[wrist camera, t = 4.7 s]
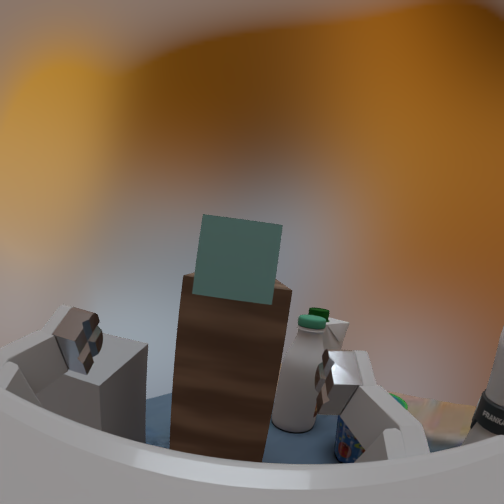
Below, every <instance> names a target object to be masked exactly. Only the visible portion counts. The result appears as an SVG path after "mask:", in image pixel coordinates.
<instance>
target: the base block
mask: <svg viewBox="0 0 504 504" xmlns="http://www.w3.org/2000/svg"><path fill="white" fill-rule="evenodd" d="M147 356H148V343H143V342H139V341H134V340H130V339H125V338H121V337H117V336H113V335H109V334H104V333H103V344H102V348H101V350H100V352H99V354H98V355H96V356H94V357H93V361H94V363H93V365H92V367H91V369H90V371H89V373H88V375H84V374H81V373H77V372H74V371H71V370H68V372H66V373H65V374H64V375H62V376H61V377H59V378H58V379H57V380H55V381H54V382H52V383H51V384H50V385H48V386H47V387H45V388H44V389H43V390H41V391H40V392H38V393H37V394H36V397H37V398H38V400H39V402H40V403H41V406H42V408H44V409H46V410H48V411H51V412H53V413H55V414H58V415H60V416H63V417H65V418H68V419H70V420H73V421H75V422H78V423H81V424H83V425H86V426H89V427H92V428H95V429H98V430H101V431H104V432H107V433H110V434H113V435H116V436H120V437H123V438H127V439H130V440H134V441H137V442H141V443H145V444H146V442H145V412H146V376H147Z"/></svg>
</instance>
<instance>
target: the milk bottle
mask: <svg viewBox="0 0 504 504" xmlns="http://www.w3.org/2000/svg"><path fill="white" fill-rule="evenodd" d="M325 327H326V319H325V318H323V317H320V316H315V315H300V316H299V319H298V327H297V328H298V333H297V336H296V338H295V340H294V342H293V344H292V345H291V346H290V348H289V349H288V351H287V352H286V354H285V357H284V359H283V362H282V366H281V371H280V376H279V381H278V386H277V392H276V397H275V402H274V408H273V413H272V421H273V423H274V425H275V426H277V427H278V428H280V429H282V430H285V431H289V432H305V431H308V430H310V429H311V428H312V427H313V425H314V423H315V419H316V415H317V403H316V398H317V396H318V394H319V393H318V392H317V391H316V390H315V374H316V370H317V367H318V364H320V363H322V362H323V361H322V355H323V352H324V347H323V339H322V336H323V332H325Z"/></svg>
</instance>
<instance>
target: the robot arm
mask: <svg viewBox="0 0 504 504" xmlns="http://www.w3.org/2000/svg"><path fill="white" fill-rule="evenodd" d="M98 323H99V317H98V315H97V314H96V313H93V312H89V311H86V310H82V309H79V308H75V307H71V306H67V305H64V304H63V305H61V306H60V307H59V308H58V309H57V310H56V312H55V313H54V314H53V315H52V317H51V318H50V319H49V321H48V322H47V323H46V325H45V326H44V328H43V329H42V330H41V331H39V330H37V331H35V332H33V333H30V334H29V335H26V336H24V337H22V338H20V339H18V340H16V341H14V342H12V343H10V344H7V345H5V346H3V347H1V348H0V504H504V327H503V330H502V333H501V335H500V340H499V344H498V348H497V353H496V357H495V361H494V364H493V368H492V371H491V375H490V379H489V382H488V385H487V388H486V389H485V391H484V392H483V393H482V396H481V397H480V399H479V402H478V404H477V407H476V410H475V413H474V416H473V418H472V423H471V426H470V428H471V429H470V431H469V433H468V435H467V437H466V439H465V440H464V442H463V444H462V445H461V446H459V447H455V448H451V449H447V450H442V451H438V452H433V453H430V451H429V447H428V443H427V440H426V436H425V433H424V430H423V426H422V424H421V423H420V422H419V421H418V420H417V419H415V418H414V417H413V416H412V415H411V414H410V413H409V412H408V411H407V410H406V409H405V408H404V407H403V406H402V405H401V404H400V403H399V402H397V401H396V400H395V399H394V398H393V397H392V396H391V395H390V394H389V393H388V392H387V391H386V390H385V389H384V388H383V387H382V386H377V383H376V380H375V376H374V373H373V370H372V366H371V362H370V359H369V356H368V353H367V352H366V351H354V350H353V351H352V350H335V349H326V350H325V351H324V352H323V355H322V361H323V362H322V363H320V364H318V367H317V370H316V374H315V390H316V391H317V392H318V393H319V394H318V396H317V398H316V403H317V413H318V414H323V415H340V417H341V418H342V420H343V421H344V422H345V424H346V425H347V427H348V428H349V429H350V431H351V432H352V433H353V435H354V436H355V437H356V439H357V440H358V441H359V443H360V444H361V445H362V447H363V448H364V449H365V452H364V453H363V454H362V455H361V456H360V457H359V458H358V459H357V460H356V461H355V462H354V463H343V464H278V463H262V462H250V461H240V460H231V459H223V458H216V457H209V456H203V455H197V454H191V453H186V452H180V451H175V450H171V449H166V448H162V447H157V446H153V445H149V444H145V443H141V442H137V441H134V440H130V439H127V438H123V437H120V436H116V435H113V434H110V433H107V432H104V431H101V430H98V429H95V428H92V427H89V426H86V425H83V424H81V423H78V422H75V421H73V420H70V419H68V418H65V417H63V416H60V415H58V414H55V413H53V412H51V411H48V410H46V409H44V408H42V406H41V403H40V402H39V400H38V398H37V397H36V394H37V393H38V392H40V391H41V390H43V389H44V388H45V387H47V386H48V385H50V384H51V383H52V382H54V381H55V380H57V379H58V378H59V377H61V376H62V375H64V374H65V373H66V372H68V370H71V371H74V372H77V373H81V374H84V375H88V373H89V371H90V369H91V367H92V365H93V363H94V361H93V357H94V356H96V355H98V354H99V352H100V350H101V348H102V344H103V333H102V330H101V329H100V328H99V327H98Z"/></svg>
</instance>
